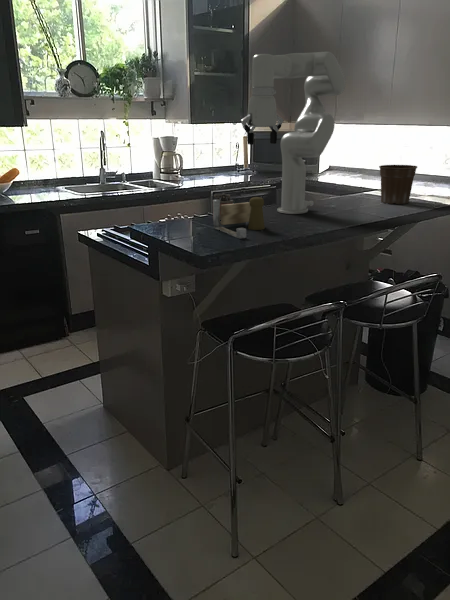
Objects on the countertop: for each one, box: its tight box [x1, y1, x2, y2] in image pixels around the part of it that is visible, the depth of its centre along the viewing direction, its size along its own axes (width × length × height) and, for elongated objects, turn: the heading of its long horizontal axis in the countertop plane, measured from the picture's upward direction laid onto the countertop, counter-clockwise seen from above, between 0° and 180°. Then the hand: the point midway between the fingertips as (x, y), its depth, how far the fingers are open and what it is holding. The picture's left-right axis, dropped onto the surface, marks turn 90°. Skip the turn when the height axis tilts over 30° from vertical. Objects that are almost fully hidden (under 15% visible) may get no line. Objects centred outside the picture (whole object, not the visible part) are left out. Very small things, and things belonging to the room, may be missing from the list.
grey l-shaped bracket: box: [212, 199, 247, 239], centre depth 176 cm, size 20×2×10 cm, turn 29°
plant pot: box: [378, 164, 418, 205], centre depth 231 cm, size 16×16×16 cm
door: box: [220, 201, 251, 226], centre depth 188 cm, size 14×3×7 cm, turn 117°
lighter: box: [211, 192, 234, 220], centre depth 197 cm, size 8×3×10 cm, turn 92°
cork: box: [247, 196, 266, 231], centre depth 183 cm, size 6×6×11 cm
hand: (262, 143), depth 186 cm, fingers open, 9 cm apart
